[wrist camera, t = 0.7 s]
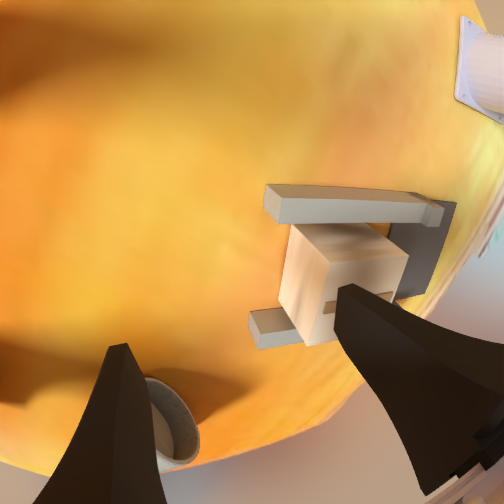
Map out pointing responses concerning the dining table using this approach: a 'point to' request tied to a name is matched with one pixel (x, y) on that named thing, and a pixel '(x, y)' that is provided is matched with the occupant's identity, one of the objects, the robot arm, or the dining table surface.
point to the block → (334, 272)
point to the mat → (420, 250)
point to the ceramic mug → (172, 427)
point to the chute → (332, 211)
